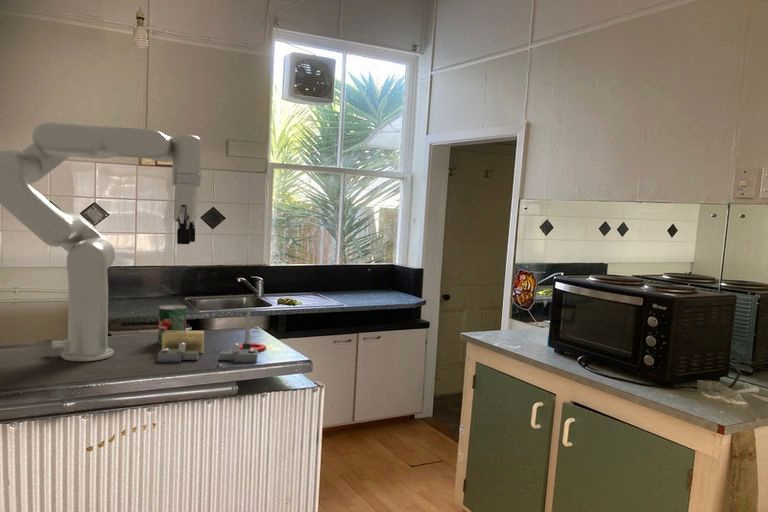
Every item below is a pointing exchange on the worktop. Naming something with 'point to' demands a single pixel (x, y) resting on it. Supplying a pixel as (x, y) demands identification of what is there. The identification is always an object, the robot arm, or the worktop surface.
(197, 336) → the tan cork brick
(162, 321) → the canned tomato
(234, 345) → the grey plate with studs
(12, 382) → the worktop surface
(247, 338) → the tow hook
